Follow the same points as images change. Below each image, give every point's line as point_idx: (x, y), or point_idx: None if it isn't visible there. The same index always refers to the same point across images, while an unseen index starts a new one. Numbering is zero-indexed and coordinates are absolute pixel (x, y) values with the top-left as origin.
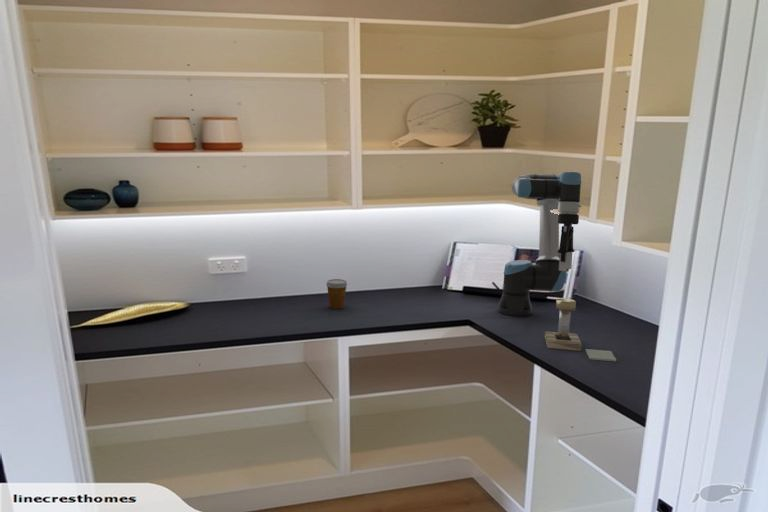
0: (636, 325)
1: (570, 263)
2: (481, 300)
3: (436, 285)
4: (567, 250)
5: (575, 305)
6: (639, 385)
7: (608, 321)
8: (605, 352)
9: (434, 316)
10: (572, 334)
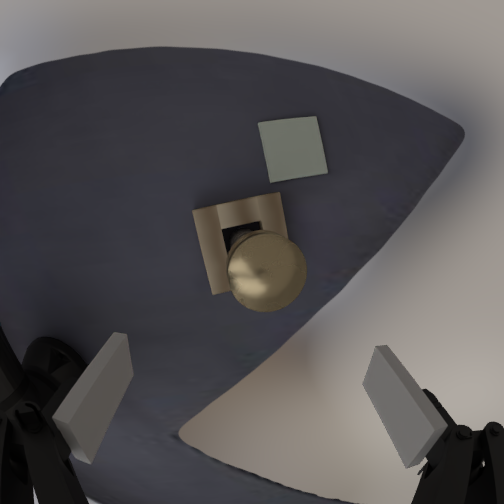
0: (24, 94)
1: (112, 364)
2: None
3: None
4: (64, 458)
5: (270, 232)
6: (405, 101)
7: (14, 155)
8: (275, 135)
9: (194, 469)
10: (203, 222)
